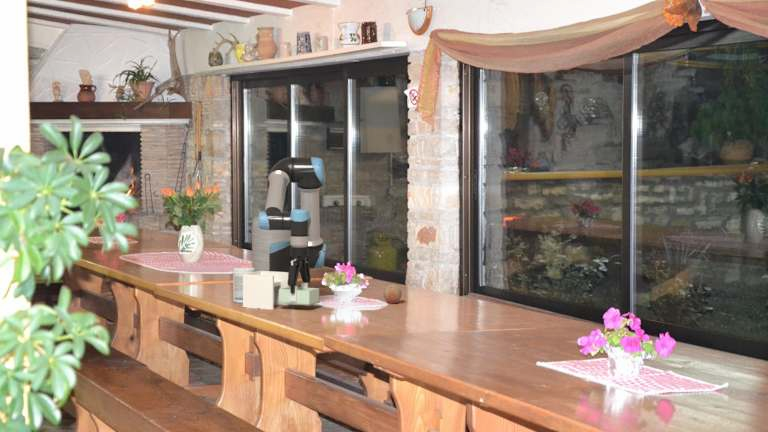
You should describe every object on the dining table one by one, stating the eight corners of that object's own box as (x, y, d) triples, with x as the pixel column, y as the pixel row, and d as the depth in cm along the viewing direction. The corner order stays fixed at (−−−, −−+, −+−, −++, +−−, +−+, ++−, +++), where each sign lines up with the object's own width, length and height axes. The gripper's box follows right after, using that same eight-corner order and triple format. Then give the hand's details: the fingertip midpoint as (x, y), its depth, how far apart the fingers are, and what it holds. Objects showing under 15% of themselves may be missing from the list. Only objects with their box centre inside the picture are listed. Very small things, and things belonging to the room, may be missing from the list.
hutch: (260, 302, 456) (260, 270, 455) (289, 304, 451) (289, 272, 450) (242, 307, 442) (243, 274, 441) (272, 309, 437) (272, 276, 436)
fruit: (380, 303, 457) (381, 285, 456) (387, 301, 464) (387, 283, 464) (398, 305, 454) (398, 286, 454) (404, 302, 462) (404, 284, 461)
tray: (289, 300, 447) (289, 286, 447) (319, 302, 442) (319, 288, 442) (278, 303, 438) (278, 289, 438) (309, 305, 433) (309, 290, 433)
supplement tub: (258, 302, 456) (259, 269, 455) (239, 304, 450) (239, 270, 449) (249, 300, 464) (249, 266, 463) (229, 301, 458) (229, 268, 457)
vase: (257, 274, 559) (257, 211, 557) (294, 275, 557) (295, 211, 555) (247, 278, 539) (247, 213, 537) (286, 279, 537) (286, 214, 535)
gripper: (303, 243, 451) (302, 295, 452) (279, 247, 430) (278, 302, 431) (319, 244, 448) (318, 296, 449) (295, 248, 427) (295, 303, 429)
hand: (299, 299), depth 440 cm, fingers closed on tray, 9 cm apart
